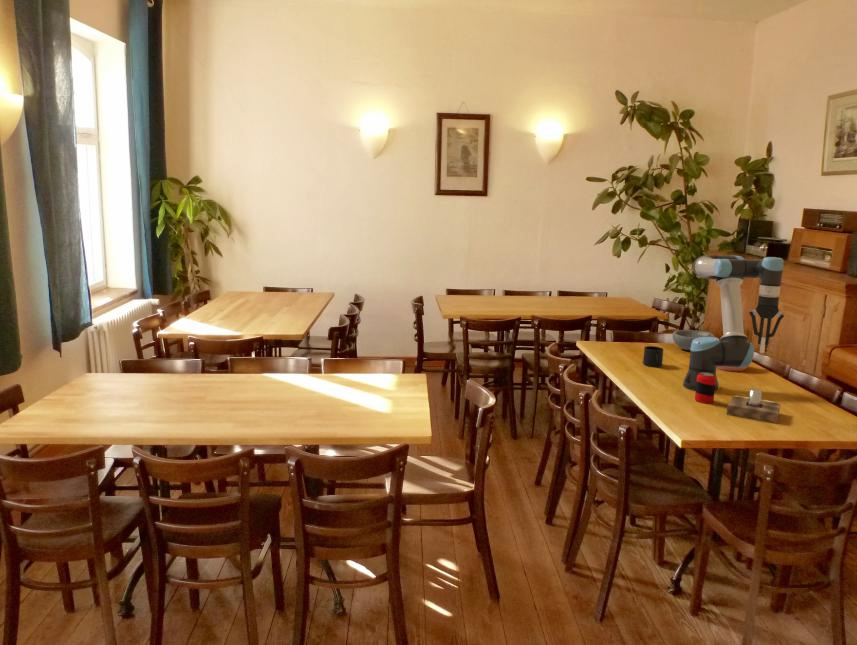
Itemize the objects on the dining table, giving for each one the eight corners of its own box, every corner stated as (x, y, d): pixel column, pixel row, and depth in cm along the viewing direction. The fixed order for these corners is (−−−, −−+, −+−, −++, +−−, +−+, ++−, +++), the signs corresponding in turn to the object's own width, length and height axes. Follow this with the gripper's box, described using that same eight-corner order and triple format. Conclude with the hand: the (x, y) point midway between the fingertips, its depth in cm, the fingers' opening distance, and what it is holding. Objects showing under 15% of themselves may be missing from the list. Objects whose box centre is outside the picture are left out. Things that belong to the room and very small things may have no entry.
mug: (647, 368, 337) (648, 351, 335) (640, 362, 349) (642, 345, 347) (665, 368, 337) (667, 351, 335) (658, 363, 348) (660, 346, 347)
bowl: (667, 344, 393) (669, 328, 391) (706, 346, 390) (708, 329, 388) (676, 353, 371) (677, 336, 369) (718, 355, 368) (720, 338, 366)
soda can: (692, 398, 289) (694, 371, 286) (709, 398, 289) (712, 372, 286) (698, 403, 281) (701, 376, 279) (716, 403, 281) (719, 376, 279)
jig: (726, 414, 268) (728, 403, 267) (731, 405, 279) (732, 394, 278) (776, 423, 258) (777, 411, 257) (779, 413, 270) (780, 402, 269)
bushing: (746, 414, 268) (749, 390, 266) (747, 411, 272) (750, 388, 270) (758, 416, 266) (761, 392, 264) (759, 413, 269) (762, 390, 268)
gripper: (750, 295, 266) (743, 351, 271) (786, 298, 260) (779, 356, 264) (752, 293, 273) (745, 348, 277) (787, 296, 266) (780, 352, 271)
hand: (762, 352), depth 271 cm, fingers closed
